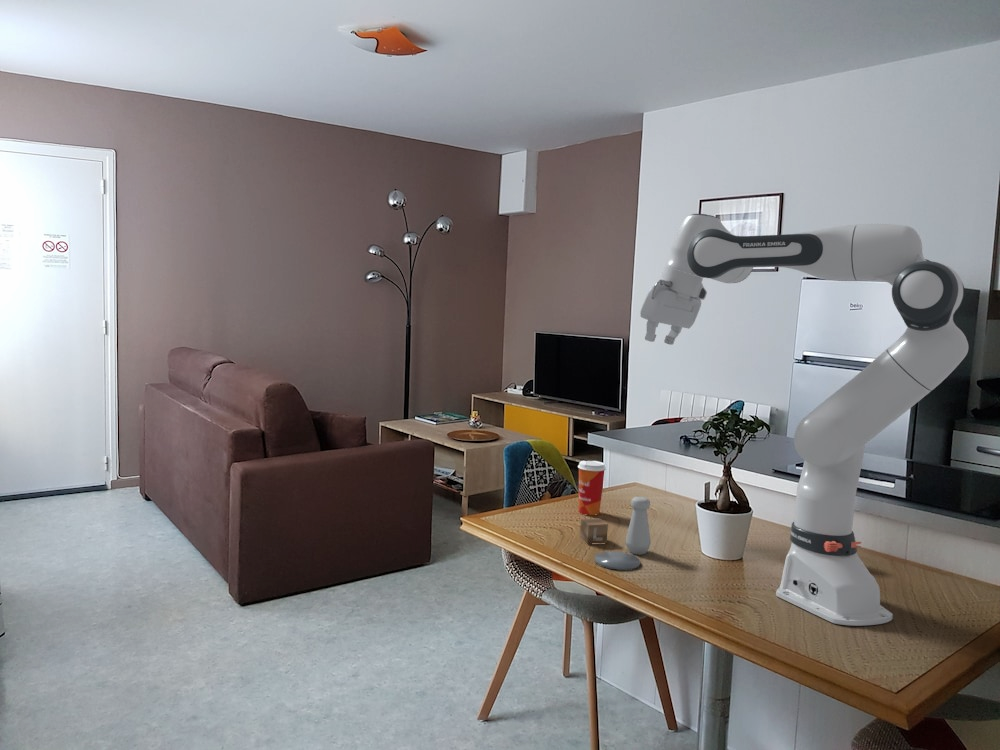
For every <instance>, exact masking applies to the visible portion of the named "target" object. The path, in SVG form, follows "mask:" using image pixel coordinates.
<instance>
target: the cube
mask: <svg viewBox="0 0 1000 750" xmlns="http://www.w3.org/2000/svg"><path fill="white" fill-rule="evenodd" d="M579 525H580V527H579V539H580V538H581V539H582V540H584V541H585V542H586V543H587V544H592V543H607V544H608V531H609V530H608V528H609V524H608V523H607V522H606V521H605V520H604V519H602V518H599V517H596V518H595V517H594V518H592V517H591V518H580V524H579ZM581 539H580V540H581ZM582 540H581V541H582ZM585 542H584V543H585ZM586 543H585V544H586ZM587 544H586V545H587Z"/></svg>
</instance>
